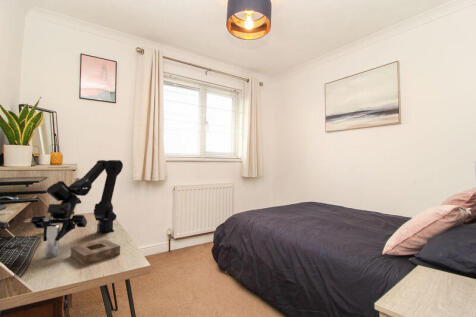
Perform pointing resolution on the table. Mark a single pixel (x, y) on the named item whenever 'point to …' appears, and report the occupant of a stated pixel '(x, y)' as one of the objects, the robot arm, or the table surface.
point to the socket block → (95, 251)
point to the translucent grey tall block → (52, 241)
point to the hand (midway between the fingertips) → (50, 240)
